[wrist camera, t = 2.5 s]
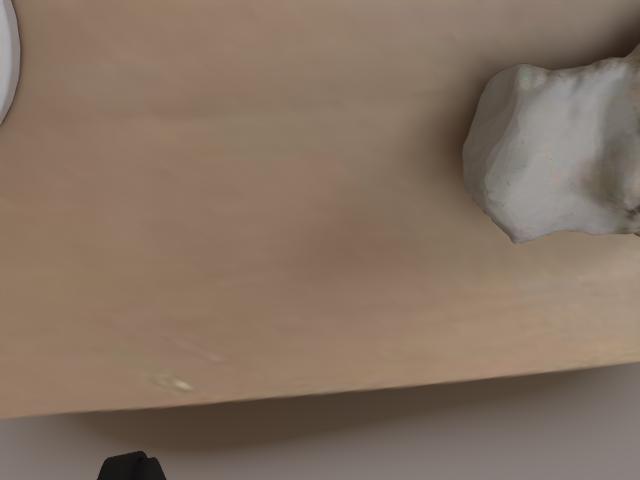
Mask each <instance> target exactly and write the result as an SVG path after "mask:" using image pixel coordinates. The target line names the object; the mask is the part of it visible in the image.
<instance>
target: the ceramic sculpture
mask: <svg viewBox="0 0 640 480" xmlns="http://www.w3.org/2000/svg"><path fill="white" fill-rule="evenodd" d="M462 157H463V163H464V172H463V181H464V186H465V188H466V189H467V191H468V193H469V194H470V195H471V197H472V199H473V200H474V201H475V202H476V203H477V205H478V206H479V207H480V208H481V209H482V210H483V211H484V213H486V214H487V215H488V216H490V217H491V219H492V221H493V222H494V223H495V224H496V225H497V226H499V227H500V228H501V229H502V230H503V231H504V232H505V233H506V234H507V235H508V236H509V237H510V239H511V241H512V242H513V243H514V244H516V243H523V242H525V241H532V240H534V239H536V238H538V237H540V236H543V235H547V234H550V233H553V232H555V231H558V230H567V231H573V232H584V233H588V234H591V235H600V234H630V233H634V234H635V235H637V236H639V237H640V42H639V43H638V45H637V46H636V47H635V49H634V50H633V51H632V52H631V53H630V54H629V55H627V56H626V57H624V58H617V57H610V58H607V59H605V60H599V61H596V62H594V63H592V64H590V65H588V66H579V67H575V68H570V69H558V70H552V71H549V70H547V69H544V68H541V67H535V66H532V65H530V64H525V63H523V64H517V65H514V66H511V67H509V68H507V69H504V70H502V71H500V72H499V73H498V74H496V75H495V76H493V77H492V78H491V79H490V80H489V82H488V83H487V85H486V88H485V90H484V91H483V93H482V94H481V96H480V100H479V103H478V106H477V110H476V113H475V116H474V119H473V122H472V125H471V128H470V131H469V135H468V138H467V140H466V141H465V143H464V146H463V152H462Z"/></svg>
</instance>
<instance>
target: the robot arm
mask: <svg viewBox="0 0 640 480" xmlns="http://www.w3.org/2000/svg"><path fill="white" fill-rule="evenodd" d="M20 49H21V47H20V40H19V33H18V26H17V19H16V15H15V12H14V8H13V5H12V2H11V0H0V125H1V123H2V121H3V119H4V118H5V116H6V114H7V112H8V110H9V108H10V106H11V104H12V102H13V98H14V94H15V90H16V87H17V83H18V79H19V69H20ZM97 480H166V478H165V475H164V473H163V471H162V468H161V466H160V464H159V462H158V460H157V459H156V458H155V457H152V458H147V456H146V454H145V453H144V452H143V451H138V452H132V453H128V454H124V455H119V456H114V457H109V458H107V459H106V460H105V461H104V463H103V465H102V468H101V470H100V473H99V476H98V479H97Z"/></svg>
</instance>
